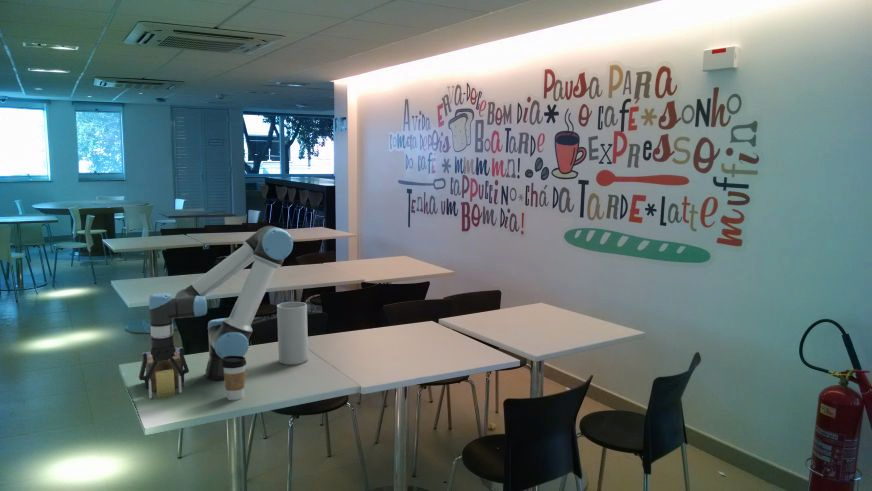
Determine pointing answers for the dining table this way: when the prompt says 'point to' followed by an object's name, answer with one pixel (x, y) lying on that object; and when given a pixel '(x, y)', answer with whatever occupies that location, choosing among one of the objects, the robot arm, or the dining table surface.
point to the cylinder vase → (292, 333)
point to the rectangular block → (165, 383)
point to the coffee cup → (234, 376)
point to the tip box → (164, 366)
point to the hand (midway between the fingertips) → (165, 394)
